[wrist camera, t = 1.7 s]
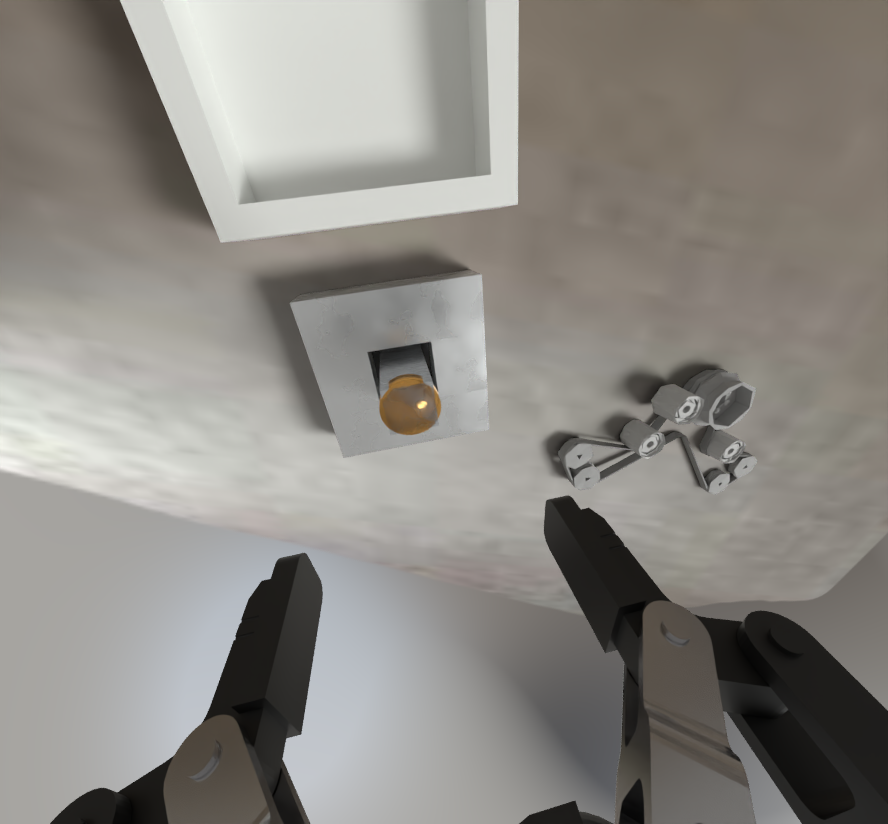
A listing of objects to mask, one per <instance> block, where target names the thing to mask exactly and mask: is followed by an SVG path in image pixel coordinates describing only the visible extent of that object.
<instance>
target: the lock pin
mask: <svg viewBox="0 0 888 824" xmlns="http://www.w3.org/2000/svg"><path fill="white" fill-rule="evenodd" d="M379 412H380V416H381V419H382V421H383V422H384V424H385V425H386V426H387V427H388V428H389V432H390V435H394V434H403V435H415V434H419V433H422V432H424V431H426V430H428V429H429V428H431V427H435V426H439V422H438V418H439V416H440V412H441V401H440V398H439V395H438V392H437V390H436V388H435V386H434V385H433V381H432V378H431V375H430V372H429V370H428V367H427V364H426V361H425V358H424V355H423V352H422V349H421V347H420V344H413V345H407V346H401V347H395V348H389V349H383V350H380V399H379Z"/></svg>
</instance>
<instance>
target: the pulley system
mask: <svg viewBox="0 0 888 824" xmlns="http://www.w3.org/2000/svg"><path fill="white" fill-rule="evenodd" d="M755 392H756V388H754V387H752V386H750V385H748V384H746V383H744V382H740V379H739V377H738V374H737V373H728V372H727V371H725V370H720V369H717V370H704V371H702V372H701V373H699V374H697V375H696V376H694V377H692V378H691V379H690V380H689V381H688V382H687V383H686V384H685V385H684V387H683V388H681V387H679V386H677V385H675V384H670V385H665V386H661V387H660V389H659V390H658V392H657V393H656V394H655V396H654V397H653V398H652V400H651V402H652V407H653V412H654V413H656V414H658V415H659V416H658V417H657V418H656V420H655V421H654V422H653V424H652V425H651V426H649V425H647V424H646V423H644V422H642V421H641V420H634V419H633V420H632V421H630V422H629V423H628V424H626V425H625V426H624V428H623V430H622V432H621V434H620V438H621V441H622V443H623V444H625V445H620V444H613V443H606V442H600V441H593V440H587V439H580V438H570V439H569V440H568V441H567V442H566V443H565V444H564V445H563V446H562V447H561V449H560V450H559V452H558V455H559V457H560V460H561V462H562V465H563V467H564V469H565V472H566V474H567V477H568V479H569V481H570V482H571V483H572V485H573V486H574V487H575V488H576V489H578V490H586V489H591V488H592V487H593V486H594V485H595V484H596V483H598V482H600V481H602V480H603V479H605V478H607V477H609V476H611V475H612V474H614V473H616V472H618V471H619V470H621V469H623V468H625V467H627V466H628V465H630V464H632V463H634V462H635V461H637V460H639V459H641V458H643V457H644V458H647V459H650V458H651V457H653V456H654V455H656V454H657V453H658V452H660V451H661V450H662V448H663V446H664V445H666V444H667V443H669V442H671V441H673V440H675V439H676V438H678V437H681V438H682V440H683V443H684V445H685V448H686V450H687V453H688V455H689V458H690V460H691V463H692V465H693V468H694V470H695V473H696V475H697V478H698V480H699V483H700V486H701V487H702V488H703V489H704V490H706V491H707V492H709V493H712V494H717V493H719V492H721V491H723V490H724V489H725V488H726V487H727V486H728V485H729V484H731V483H732V482H734V481H735V480H737V479H738V478H739V477H741V476H743V475H745V474H748V473H750V472H751V470H752V469H753V467H754V466H755V464H756V463H757V460H756V458H755V457H754V456H752V455H751V454H749V453H743V451H744V449H745V446H746V445H745V442H743V441H741V440H739V439H737V438H735V437H733V436H731V435H729V434H727V433H725V432H723V431H715V430H720V429H727V428H729V427H731V426H732V425H734V424H735V423H737V422H739V421H740V420H742V419H743V417H744V416H745V415H746V413H747V412H748V410H749V409H750V408H751V405H752V402H753V399H754V395H755ZM666 419H668V420H670V421H672V422H674V423H676V424H678V425H679V424H690V423H691V422H692V423H694V424H695V425H702V426H707V425H709V426H708V428H707V430H706V432H705V435H704V437H703V439H702V441H701V443H700V445H699V447H700V451H701V452H702V453H704V454H706V455H708V456H711V457H713V458H715V459H717V460H719V461H721V462H723V463H725V464H726V463H729V467H728V469H727V470H728V471H729V472H731V473H732V475H729V474H726V473H724V472H722V471H721V470H715V471H711V472H710V473H709V474H708V475H707V476H706V477H705V478H704V477H703V475H702V472H701V470H700V468H699V465H698V463H697V460H696V458H695V456H694V453H693V451H692V449H691V446H690V444H689V442H688V439H687V437H686V436H685V435H683V434H682V433H680V432H672V433H670V434H668V435H667V436H665V437H664V434H662V433H660V432H659V431H658V430H659V428H660V427H661V426H662V425H663V423H664V422H665V421H666ZM591 445H593V446H601V447H609V448H617V449H625V450H633V451H634V452H635V453H634V454H632V455H630V456H628V457H627V458H625V459H623V460H621V461H619V462H618V463H616V464H614V465H612V466H610V467H609V468H607V469H605V470H603V471H601V472H599V470H598V469H597V468H596V467H595V466H594V464H592V463H590V462H589V460H590V459H591V457H592V456H593V452H592V448H591ZM568 467H570V468H572V469H571V470H569V468H568Z"/></svg>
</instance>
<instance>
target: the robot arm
mask: <svg viewBox="0 0 888 824" xmlns="http://www.w3.org/2000/svg"><path fill="white" fill-rule="evenodd" d="M544 535H545V539H546V542H547V545H548V547H549V549H550V551H551V553H552V555H553V556H554V558H555V560H556V562H557V564H558V566H559V568H560V569H561V571H562V573H563V575H564V577H565V579H566V581H567V583H568V584H569V586H570V588H571V590H572V592H573V594H574V596H575V597H576V599H577V601H578V603H579V605H580V607H581V609H582V611H583V612H584V614H585V616H586V618H587V620H588V622H589V623H590V625H591V627H592V629H593V631H594V633H595V635H596V637H597V639H598V640H599V642H600V644H601V646H602V648H603V650H604V652H605V653H607V652H611V651H615V650H618V651H619V653H620V655H621V657H622V659H623V661H624V673H623V704H622V705H623V706H622V733H621V734H622V736H621V751H620V758H619V763H618V771H617V781H616V800H615V801H616V802H615V824H756V821H755V816H754V810H753V804H752V799H751V794H750V789H749V784H748V780H747V776H746V773H745V770H744V767H743V765H742V762H741V761H740V759H739V757H738V756H737V755H736V754H734V753H733V752H732V750H731V748H730V745H729V742H728V739H727V733H726V727H725V720H724V714H723V711H725V712H727V713H728V715H729V716H730V718H731V719H732V720H733V722H734V723H735V725H736V726H737V728H738V729H739V731H740V732H741V734H742V735H743V737H744V738H745V740H746V741H747V743H748V744H749V746H750V747H751V749H752V750H753V752H754V753H755V755H756V756H757V758H758V759H759V761H760V762H761V763H762V765H763V767H764V768H765V770H766V771H767V772H768V774H769V775H770V777H771V778H772V780H773V781H774V783H775V784H776V786H777V787H778V789H779V790H780V792H781V793H782V794H783V796H784V798H785V799H786V801H787V802H788V804H789V805H790V807H791V808H792V809H793V811H794V813H795V814H796V815H797V817H798V819H799V820H800V822H801V823H802V824H888V711H887V710H886V709H885V708H884V707H883V706H882V705H881V704H880V703H879V702H878V701H877V700H876V699H875V698H874V697H873V696H872V695H871V694H870V693H869V692H868V691H867V690H866V689H865V688H864V687H863V686H862V685H861V684H860V683H859V682H858V681H857V680H856V679H855V678H854V677H853V676H852V675H851V674H850V673H849V672H848V671H847V670H846V669H845V668H844V667H843V666H842V665H841V664H840V663H839V662H838V661H837V660H836V659H835V658H834V657H833V656H832V655H831V654H830V653H829V652H828V651H827V650H826V649H825V648H824V647H823V646H822V645H821V644H820V643H819V642H818V641H817V640H816V639H815V638H814V637H813V636H812V635H811V634H809V633H808V632H807V631H806V630H805V629H803V628H802V627H801V626H799V625H798V624H796V623H795V622H793V621H791V620H789V619H788V618H785V617H783V616H781V615H779V614H775V613H772V612H767V611H755V612H751V613H750V614H748V616H747V617H746V618H745V620H744V621H743V622H740V621H730V620H722V619H713V618H705V617H700V616H697V615H694V614H692V613H691V612H690V611H688V610H687V609H685V608H684V607H682V606H680V605H678V604H675V603H673V602H671V601H670V600H669V599H668V598H667V597H666V596H665V595H664V594H663V593H662V592H661V591H660V589H659V588H658V587H657V585H656V584H655V583H654V582H653V580H652V579H651V578H650V577H649V575H648V574H647V573H646V571H645V570H644V569H643V568H642V566H641V565H640V564H639V562H638V561H637V560H636V559H635V557H634V556H633V555H632V554H631V552H630V551H629V550H628V548H627V547H625V546H624V543H623V542H622V541H621V540H620V538H619V537H618V536H617V535H615V532H614V531H613V529H612V528H611V527H610V525H609V524H608V523H607V522H606V520H605V519H604V518H603V517H601V516H600V515H598V514H597V513H595V512H594V511H593V510H591V509H590V508H586V509H582V510H581V509H580V508H579V507H578V505H577V504H576V502H575V501H574V500H573V498H572V497H570V496H563V497H558V498H554V499H549V500H547V501H546V506H545V520H544ZM322 595H323V593H322V584H321V580H320V578H319V577H318V575H317V573H316V571H315V569H314V567H313V565H312V563H311V561H310V559H309V557H308V556H307V554H306V553H301V554H297V555H292V556H287V557H283V558H280V559H278V560H277V562H276V564H275V567H274V570H273V574H272V577H271V579H269V580H264V581H262V582H261V583H260V584H259V586H258V587H257V588H256V590H255V591H254V593H253V594H252V596H251V597H250V598H249V600H248V603H247V605H246V608H245V611H244V614H243V617H242V622H241V623H240V625H239V628H238V630H237V633H236V640H234V641H233V644H232V647H231V650H230V653H229V656H228V658H227V661H226V664H225V667H224V669H223V672H222V675H221V678H220V681H219V684H218V686H217V689H216V692H215V695H214V697H213V700H212V703H211V706H210V708H209V711H208V713H207V715H206V717H205V719H204V721H203V722H202V724H201V725H199V726H198V727H197V728H196V729H195V730H194V731H193V732H192V733H191V734H190V735H189V736H188V737H187V738H186V739H185V741H184V742H183V743H182V745H181V746H180V748H179V749H178V751H177V752H176V754H175V755H174V756H173V757H172V758H170V759H169V760H167V761H166V762H165V763H163V764H162V765H160V766H159V767H157V768H155V769H154V770H152V771H151V772H149V773H148V774H146V775H144V776H143V777H141V778H140V779H138V780H136V781H135V782H133V783H132V784H130V785H128V786H127V787H125V788H124V789H122V790H121V791H119V792H114V791H112V790H109V789H106V788H98V789H94V790H92V791H90V792H87V793H86V794H84V795H82V796H81V797H79V798H77V799H76V800H75V801H74V802H72V803H71V804H70V805H68V806H67V807H66V808H65V809H64V810H63V811H62V812H61V813H60V814H59V815H58V816H57V817H56V818H55V819H54V820H53V821H52V822H51V823H50V824H310V822H309V819H308V817H307V815H306V813H305V810H304V808H303V806H302V803H301V801H300V799H299V796H298V794H297V791H296V789H295V787H294V785H293V782H292V780H291V777H290V775H289V773H288V771H287V768H286V766H285V764H284V762H283V760H282V758H283V752H284V747H285V742H286V738H289V737H293V736H297V735H301V731H302V726H303V720H304V713H305V706H306V700H307V694H308V687H309V681H310V675H311V669H312V662H313V656H314V649H315V642H316V637H317V630H318V624H319V618H320V611H321V605H322ZM520 824H613V823H611V822H609V821H607V820H605V819H603V818H601V817H599V816H595V815H592V814H589V813H586V812H579V810H578V807H577V805H576V801H572V802H569V803H566V804H563V805H560V806H557V807H554V808H550V809H547V810H544V811H541V812H538V813H535V814H532V815H529V816H528V817H527V818H525V819H524V820H523V821H522V822H521V823H520Z"/></svg>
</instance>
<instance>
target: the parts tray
mask: <svg viewBox="0 0 888 824" xmlns="http://www.w3.org/2000/svg"><path fill="white" fill-rule="evenodd" d="M120 2H121V4H122V6H123V9H124V11H125V14H126V16H127V18H128V21H129V23H130V26H131V28H132V30H133V33H134V35H135V38H136V40H137V42H138V45H139V47H140V50H141V52H142V54H143V57H144V59H145V62H146V64H147V66H148V69H149V71H150V74H151V76H152V78H153V81H154V83H155V86H156V88H157V90H158V93H159V95H160V98H161V100H162V102H163V105H164V107H165V110H166V112H167V114H168V117H169V119H170V122H171V124H172V126H173V129H174V131H175V134H176V136H177V138H178V141H179V143H180V146H181V148H182V150H183V153H184V155H185V158H186V160H187V162H188V165H189V167H190V170H191V172H192V174H193V177H194V179H195V182H196V184H197V186H198V189H199V191H200V194H201V196H202V198H203V201H204V203H205V206H206V208H207V210H208V213H209V215H210V218H211V220H212V222H213V225H214V227H215V230H216V232H217V234H218V237H219V239H220V242H221V243H223V242H238V241H251V240H258V239H266V238H274V237H282V236H289V235H297V234H305V233H313V232H320V231H328V230H336V229H343V228H351V227H359V226H367V225H374V224H382V223H390V222H398V221H405V220H413V219H421V218H428V217H436V216H444V215H452V214H459V213H467V212H475V211H483V210H490V209H497V208H502V207H507V206H512V205H517V204H518V2H519V0H120Z"/></svg>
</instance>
